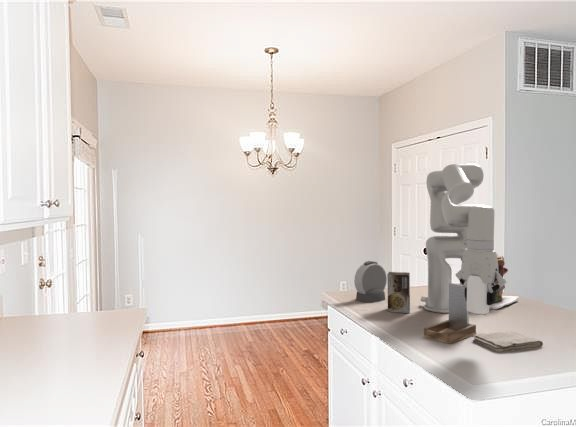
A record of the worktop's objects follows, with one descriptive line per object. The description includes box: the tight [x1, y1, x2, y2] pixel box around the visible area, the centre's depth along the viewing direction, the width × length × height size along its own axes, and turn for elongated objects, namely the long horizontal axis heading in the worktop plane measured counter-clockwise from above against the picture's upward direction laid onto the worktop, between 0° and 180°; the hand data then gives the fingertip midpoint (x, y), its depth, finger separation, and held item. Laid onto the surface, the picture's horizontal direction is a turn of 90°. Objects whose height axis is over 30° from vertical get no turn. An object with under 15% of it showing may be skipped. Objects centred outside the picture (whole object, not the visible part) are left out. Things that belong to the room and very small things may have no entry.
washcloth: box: [472, 330, 544, 353], centre depth 134 cm, size 12×18×3 cm, turn 107°
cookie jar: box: [459, 254, 520, 310], centre depth 193 cm, size 25×25×32 cm
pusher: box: [448, 283, 470, 330], centre depth 147 cm, size 7×1×16 cm, turn 39°
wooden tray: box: [423, 319, 477, 345], centre depth 143 cm, size 10×17×3 cm, turn 129°
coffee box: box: [386, 271, 411, 314], centre depth 176 cm, size 9×6×16 cm
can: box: [467, 274, 490, 316], centre depth 130 cm, size 6×6×12 cm
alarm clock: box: [354, 260, 388, 304], centre depth 196 cm, size 16×10×18 cm, turn 120°
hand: (479, 301), depth 130 cm, fingers closed on can, 6 cm apart
